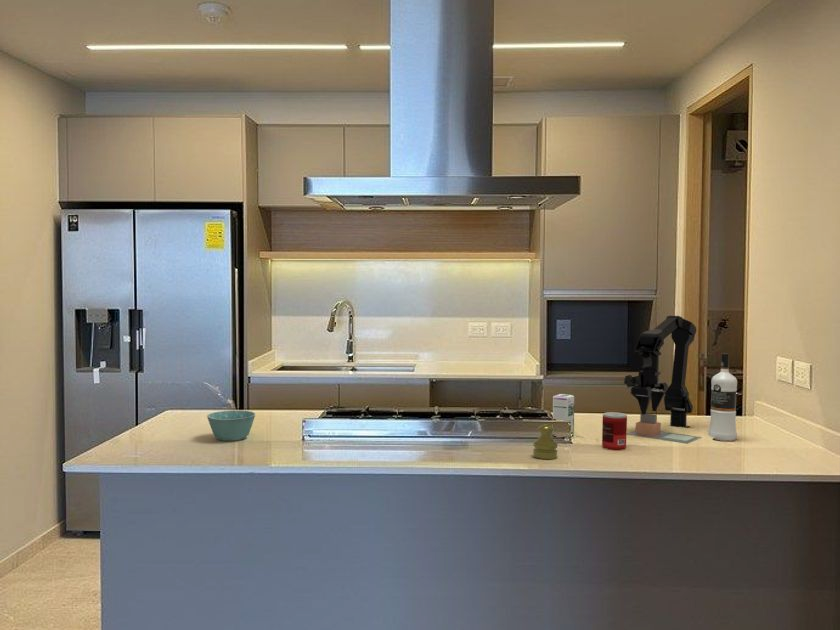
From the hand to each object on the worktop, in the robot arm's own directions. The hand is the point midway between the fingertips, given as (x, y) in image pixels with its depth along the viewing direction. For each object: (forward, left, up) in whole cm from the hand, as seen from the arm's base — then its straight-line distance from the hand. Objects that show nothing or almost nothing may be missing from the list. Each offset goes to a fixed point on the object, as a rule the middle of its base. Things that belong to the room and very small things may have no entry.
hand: (648, 412), depth 262 cm
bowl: (+102, -102, -9) cm, 145 cm away
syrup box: (+21, -22, -9) cm, 32 cm away
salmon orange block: (0, 0, -7) cm, 7 cm away
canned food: (+25, -1, -9) cm, 27 cm away
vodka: (-14, +21, -9) cm, 27 cm away
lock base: (0, +5, -8) cm, 10 cm away
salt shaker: (+52, -11, -9) cm, 54 cm away
